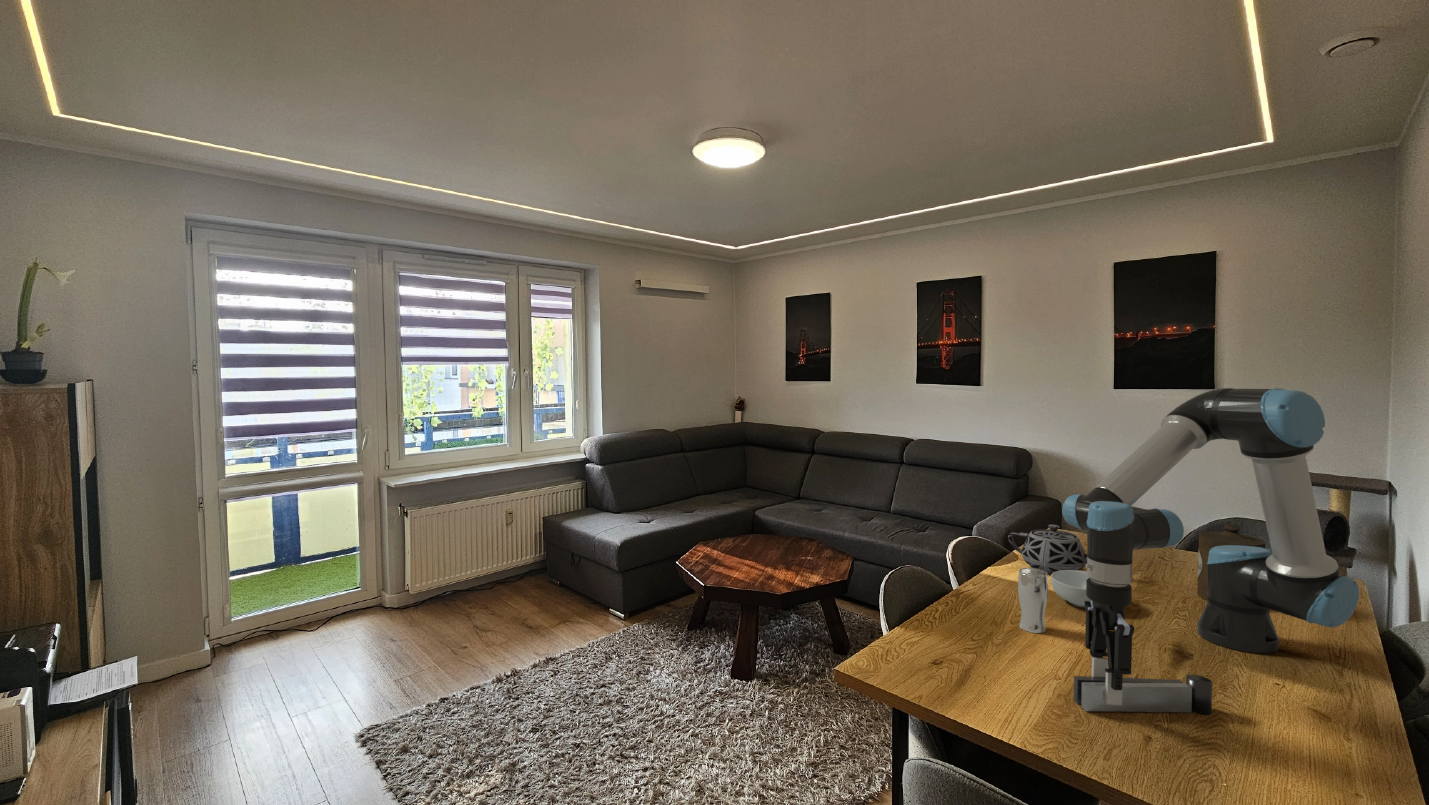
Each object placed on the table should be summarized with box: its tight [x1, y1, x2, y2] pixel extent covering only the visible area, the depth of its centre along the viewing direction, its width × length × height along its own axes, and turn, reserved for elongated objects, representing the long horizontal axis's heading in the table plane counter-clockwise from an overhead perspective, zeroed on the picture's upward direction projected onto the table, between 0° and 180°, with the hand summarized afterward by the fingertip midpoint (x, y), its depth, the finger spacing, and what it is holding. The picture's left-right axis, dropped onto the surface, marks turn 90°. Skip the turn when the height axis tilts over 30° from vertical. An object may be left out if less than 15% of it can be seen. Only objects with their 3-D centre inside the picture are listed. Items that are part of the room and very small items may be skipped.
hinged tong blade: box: [1080, 682, 1192, 713], centre depth 117 cm, size 20×2×5 cm, turn 87°
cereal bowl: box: [1050, 570, 1092, 609], centre depth 172 cm, size 17×17×7 cm
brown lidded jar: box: [1196, 523, 1266, 601], centre depth 172 cm, size 15×15×22 cm
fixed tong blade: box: [1073, 674, 1213, 716], centre depth 119 cm, size 24×4×6 cm, turn 84°
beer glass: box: [1017, 567, 1049, 634], centre depth 155 cm, size 7×7×15 cm
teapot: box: [1007, 524, 1087, 575], centre depth 201 cm, size 19×31×15 cm, turn 47°
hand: (1106, 696), depth 119 cm, fingers open, 4 cm apart
